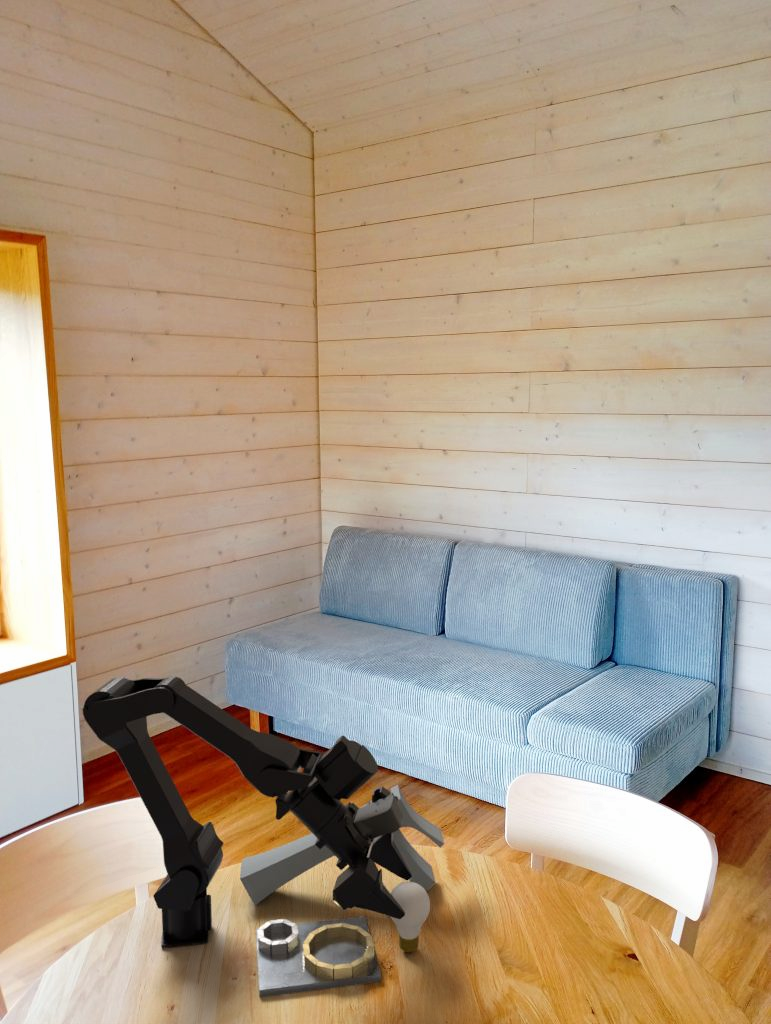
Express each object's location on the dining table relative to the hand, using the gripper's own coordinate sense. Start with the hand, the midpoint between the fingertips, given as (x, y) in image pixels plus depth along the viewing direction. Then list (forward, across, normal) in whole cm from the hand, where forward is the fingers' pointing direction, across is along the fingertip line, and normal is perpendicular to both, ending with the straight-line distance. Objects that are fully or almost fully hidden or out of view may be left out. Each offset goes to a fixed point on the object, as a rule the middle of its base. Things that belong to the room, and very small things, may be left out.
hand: (406, 896), depth 119 cm
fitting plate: (-3, -3, +14) cm, 15 cm away
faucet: (-2, +13, +14) cm, 19 cm away
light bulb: (+6, 0, +6) cm, 8 cm away
